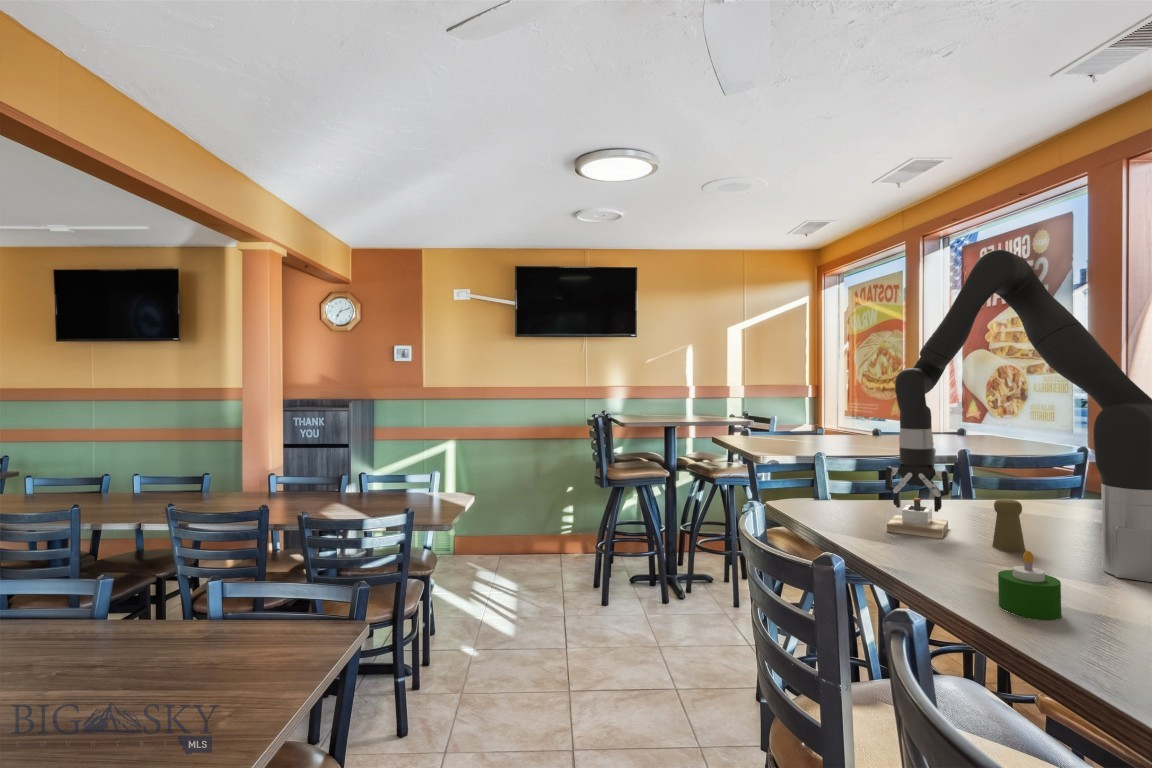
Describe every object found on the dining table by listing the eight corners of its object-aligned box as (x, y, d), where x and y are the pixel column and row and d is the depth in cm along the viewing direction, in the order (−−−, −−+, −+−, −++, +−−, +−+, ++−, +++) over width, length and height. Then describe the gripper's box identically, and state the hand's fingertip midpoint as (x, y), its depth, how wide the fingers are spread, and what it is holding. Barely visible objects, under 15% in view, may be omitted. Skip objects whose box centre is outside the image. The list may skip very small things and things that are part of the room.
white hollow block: (927, 526, 146) (927, 512, 146) (902, 523, 149) (902, 509, 149) (932, 520, 152) (931, 506, 152) (907, 517, 156) (907, 504, 156)
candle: (994, 611, 98) (992, 551, 98) (1003, 597, 104) (1002, 541, 104) (1058, 624, 92) (1056, 561, 92) (1064, 609, 98) (1063, 549, 98)
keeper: (942, 538, 142) (941, 505, 142) (887, 531, 150) (886, 500, 150) (947, 528, 152) (947, 497, 152) (895, 522, 159) (895, 492, 159)
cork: (1014, 544, 136) (1013, 496, 136) (1031, 551, 130) (1030, 502, 130) (986, 544, 137) (985, 496, 137) (1002, 551, 131) (1001, 502, 131)
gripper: (882, 446, 152) (883, 508, 152) (946, 449, 143) (948, 515, 144) (887, 443, 158) (889, 503, 158) (950, 446, 149) (951, 509, 149)
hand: (917, 509), depth 151 cm, fingers open, 8 cm apart
